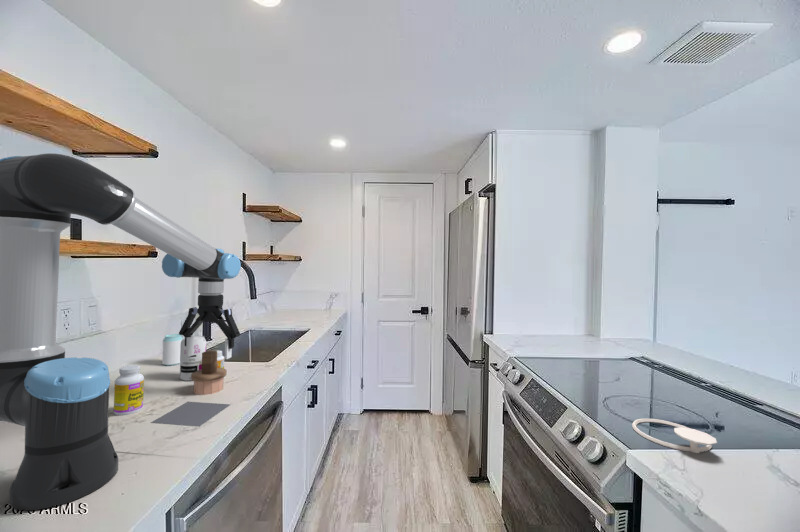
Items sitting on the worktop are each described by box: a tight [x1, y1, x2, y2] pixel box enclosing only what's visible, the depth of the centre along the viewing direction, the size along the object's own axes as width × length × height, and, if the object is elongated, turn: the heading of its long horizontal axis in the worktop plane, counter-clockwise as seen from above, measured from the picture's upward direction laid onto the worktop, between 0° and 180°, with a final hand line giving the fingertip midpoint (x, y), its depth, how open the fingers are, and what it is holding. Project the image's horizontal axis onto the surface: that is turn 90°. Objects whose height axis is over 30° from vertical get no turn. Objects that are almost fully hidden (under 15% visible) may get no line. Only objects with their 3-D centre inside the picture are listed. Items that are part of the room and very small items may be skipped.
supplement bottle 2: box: [216, 350, 225, 369], centre depth 126 cm, size 6×6×10 cm
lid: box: [191, 349, 227, 382], centre depth 114 cm, size 10×10×8 cm
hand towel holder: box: [631, 418, 718, 454], centre depth 90 cm, size 17×4×21 cm
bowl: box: [193, 377, 225, 396], centre depth 114 cm, size 9×9×5 cm
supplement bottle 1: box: [113, 364, 145, 416], centre depth 98 cm, size 7×7×13 cm
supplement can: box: [179, 335, 207, 382], centre depth 127 cm, size 8×8×15 cm
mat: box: [150, 401, 231, 428], centre depth 97 cm, size 14×14×1 cm
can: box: [161, 333, 184, 367], centre depth 143 cm, size 7×7×12 cm
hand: (208, 357), depth 114 cm, fingers open, 13 cm apart
